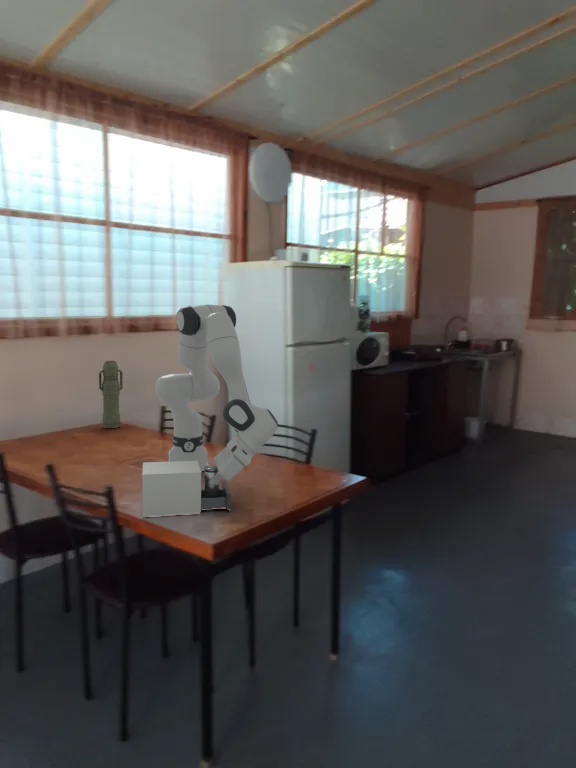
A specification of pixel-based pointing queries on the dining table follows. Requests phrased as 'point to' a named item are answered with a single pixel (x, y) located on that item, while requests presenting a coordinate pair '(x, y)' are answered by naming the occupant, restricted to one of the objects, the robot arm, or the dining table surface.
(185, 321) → the robot arm
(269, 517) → the dining table surface
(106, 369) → the thermos
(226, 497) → the grey drawer
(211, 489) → the canister
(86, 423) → the dining table surface
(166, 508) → the grey box
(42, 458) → the dining table surface
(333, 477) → the dining table surface
